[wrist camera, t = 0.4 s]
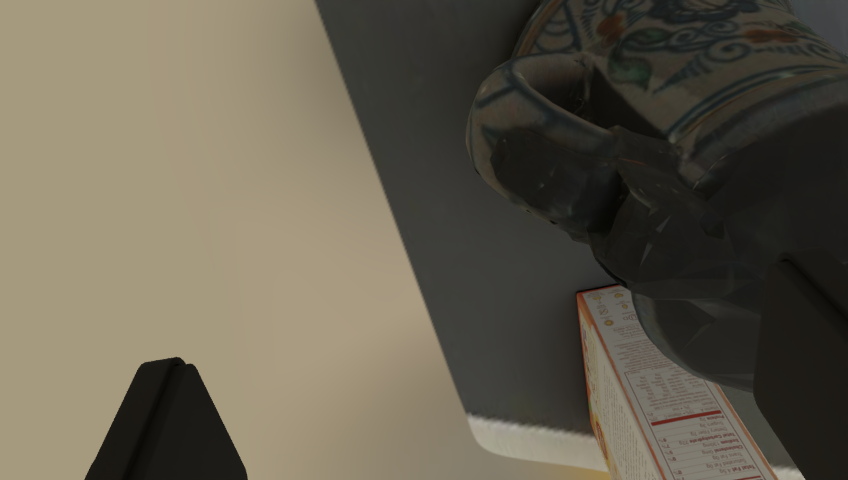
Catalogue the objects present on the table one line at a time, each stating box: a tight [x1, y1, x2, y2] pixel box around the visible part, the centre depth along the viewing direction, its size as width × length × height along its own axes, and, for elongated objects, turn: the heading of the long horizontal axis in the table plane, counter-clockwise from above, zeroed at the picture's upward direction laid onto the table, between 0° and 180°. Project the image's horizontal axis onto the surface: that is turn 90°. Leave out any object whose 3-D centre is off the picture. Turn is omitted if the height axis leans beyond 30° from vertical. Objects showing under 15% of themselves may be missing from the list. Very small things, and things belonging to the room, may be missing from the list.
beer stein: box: [466, 0, 848, 392], centre depth 29 cm, size 16×19×25 cm
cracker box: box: [576, 285, 779, 480], centre depth 42 cm, size 14×6×21 cm, turn 12°
